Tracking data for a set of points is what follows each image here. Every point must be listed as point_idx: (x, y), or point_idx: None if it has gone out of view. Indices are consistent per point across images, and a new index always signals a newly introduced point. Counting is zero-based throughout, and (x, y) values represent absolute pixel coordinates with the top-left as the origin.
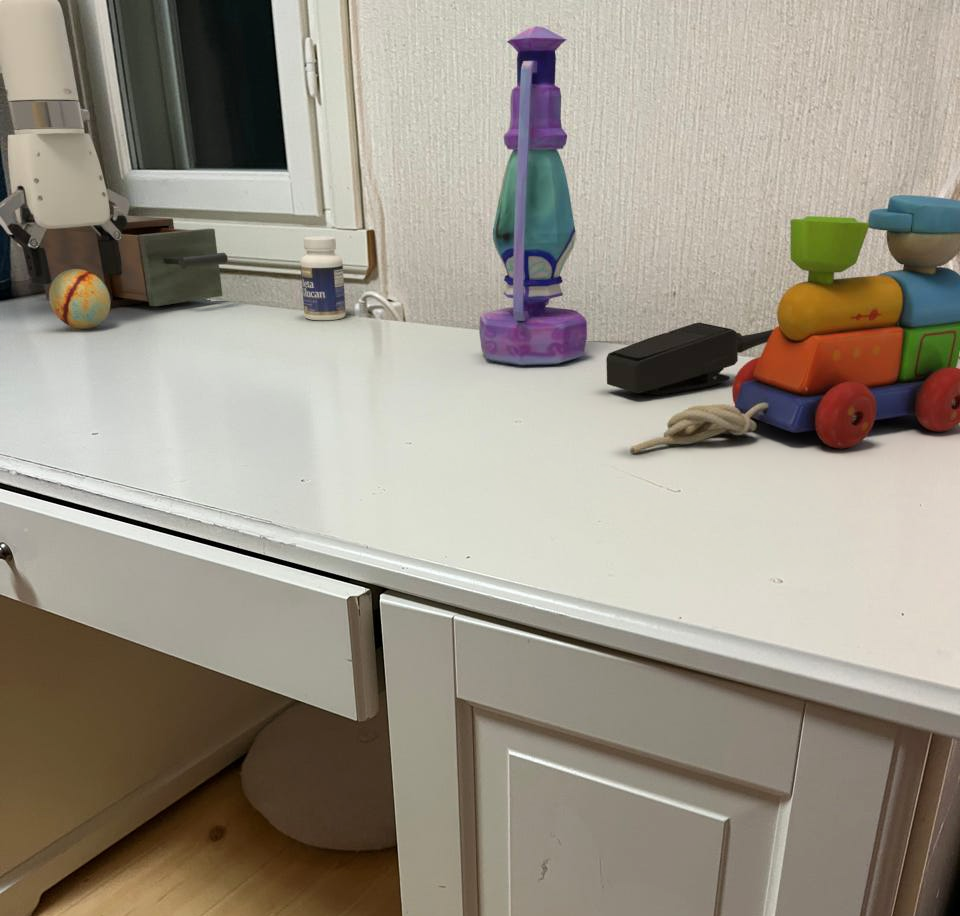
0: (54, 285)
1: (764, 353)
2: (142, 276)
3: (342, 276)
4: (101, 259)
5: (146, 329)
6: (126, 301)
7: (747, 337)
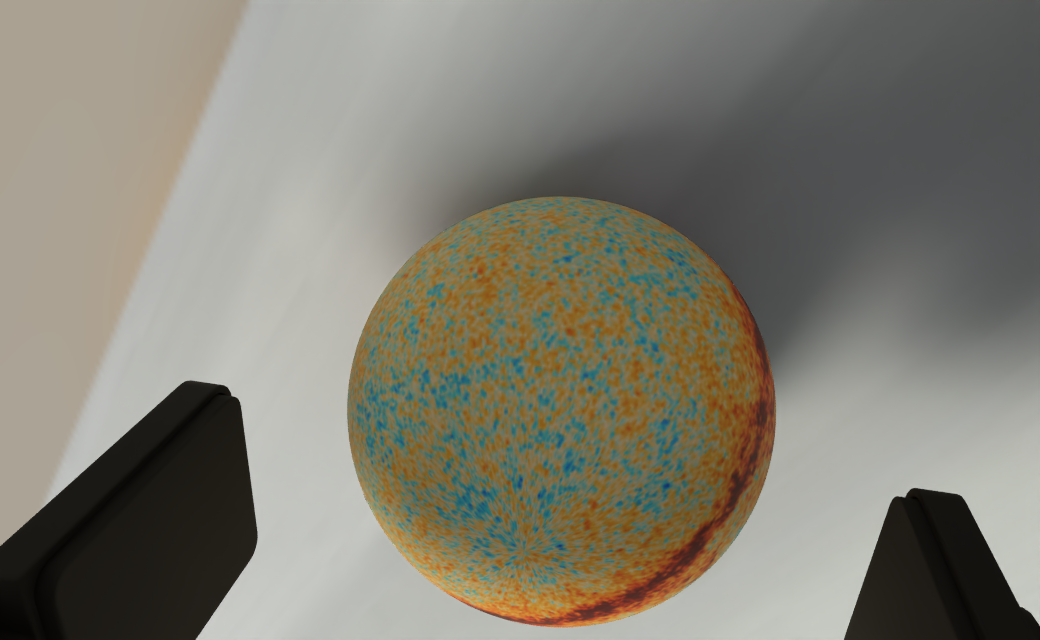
0: (352, 435)
1: None
2: None
3: None
4: (930, 592)
5: (728, 578)
6: None
7: None
